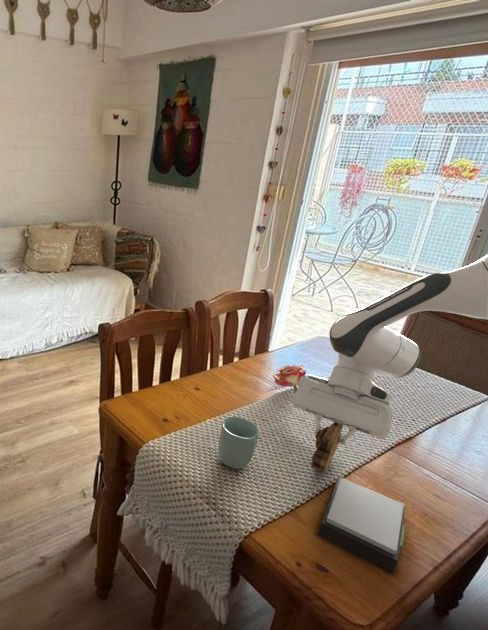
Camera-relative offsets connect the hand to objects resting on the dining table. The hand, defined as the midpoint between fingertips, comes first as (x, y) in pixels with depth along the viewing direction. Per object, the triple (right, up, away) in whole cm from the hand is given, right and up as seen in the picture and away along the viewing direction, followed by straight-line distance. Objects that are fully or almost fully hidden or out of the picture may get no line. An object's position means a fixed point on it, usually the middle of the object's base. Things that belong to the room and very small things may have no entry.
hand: (329, 439), depth 103 cm
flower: (+5, +7, +31) cm, 32 cm away
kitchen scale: (-4, -13, -16) cm, 21 cm away
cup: (-23, -6, 0) cm, 24 cm away
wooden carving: (-1, -6, 0) cm, 6 cm away
